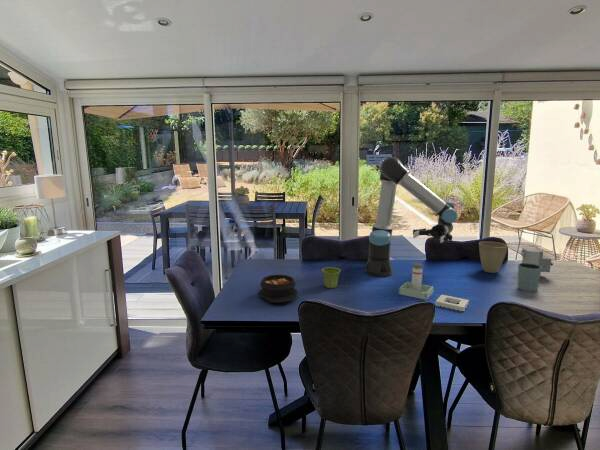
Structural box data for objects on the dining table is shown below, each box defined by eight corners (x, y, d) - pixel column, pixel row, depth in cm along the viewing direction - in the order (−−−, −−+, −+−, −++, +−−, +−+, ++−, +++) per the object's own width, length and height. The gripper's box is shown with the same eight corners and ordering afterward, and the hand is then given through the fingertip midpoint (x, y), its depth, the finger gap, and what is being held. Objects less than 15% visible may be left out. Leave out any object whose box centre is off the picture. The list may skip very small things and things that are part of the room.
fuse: (409, 292, 189) (410, 264, 186) (412, 289, 193) (414, 262, 190) (419, 294, 186) (421, 266, 184) (422, 291, 190) (424, 264, 188)
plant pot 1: (341, 284, 202) (342, 268, 200) (337, 290, 193) (338, 273, 192) (324, 282, 205) (324, 266, 203) (319, 288, 196) (319, 271, 195)
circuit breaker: (552, 279, 211) (555, 252, 208) (523, 277, 214) (526, 251, 211) (546, 274, 218) (550, 249, 216) (518, 273, 221) (521, 247, 218)
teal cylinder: (530, 293, 190) (533, 269, 188) (511, 286, 199) (513, 264, 197) (543, 290, 195) (546, 266, 193) (523, 283, 204) (526, 261, 201)
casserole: (301, 305, 175) (301, 287, 174) (260, 307, 172) (259, 289, 171) (293, 286, 199) (293, 270, 198) (257, 288, 196) (256, 272, 195)
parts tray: (398, 293, 189) (399, 287, 188) (406, 287, 198) (406, 281, 197) (426, 299, 182) (426, 293, 181) (433, 292, 191) (433, 286, 190)
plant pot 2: (506, 276, 216) (509, 248, 213) (477, 273, 221) (480, 246, 218) (503, 268, 229) (506, 242, 226) (475, 266, 234) (478, 240, 231)
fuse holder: (435, 305, 175) (435, 301, 175) (441, 298, 183) (441, 294, 183) (463, 311, 168) (463, 307, 168) (468, 304, 176) (468, 300, 176)
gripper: (462, 241, 207) (452, 249, 190) (416, 234, 221) (402, 240, 204) (464, 227, 206) (453, 234, 188) (417, 221, 219) (404, 226, 202)
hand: (427, 237), depth 196 cm, fingers open, 13 cm apart
